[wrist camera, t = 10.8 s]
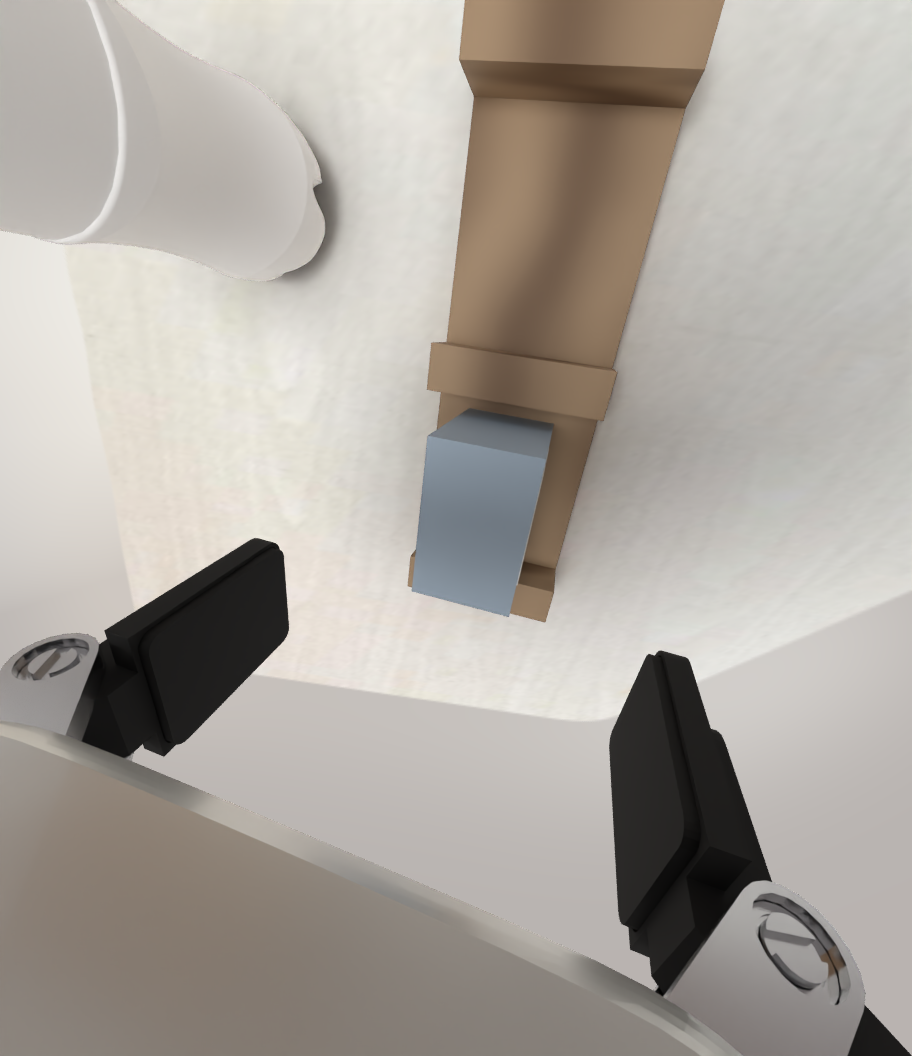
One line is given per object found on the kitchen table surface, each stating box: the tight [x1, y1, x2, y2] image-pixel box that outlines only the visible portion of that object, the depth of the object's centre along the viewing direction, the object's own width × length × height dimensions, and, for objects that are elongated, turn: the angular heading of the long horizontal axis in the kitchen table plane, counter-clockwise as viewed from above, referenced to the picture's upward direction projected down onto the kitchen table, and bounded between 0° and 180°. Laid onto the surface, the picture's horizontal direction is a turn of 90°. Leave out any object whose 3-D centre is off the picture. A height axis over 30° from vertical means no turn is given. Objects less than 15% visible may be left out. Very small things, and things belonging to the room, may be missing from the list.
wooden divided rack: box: [408, 0, 725, 622], centre depth 20 cm, size 8×24×4 cm, turn 172°
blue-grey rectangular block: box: [412, 408, 554, 617], centre depth 20 cm, size 4×7×7 cm, turn 172°
